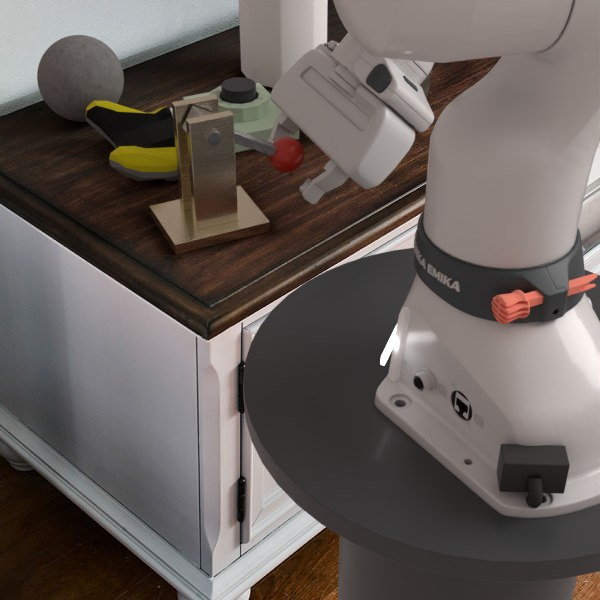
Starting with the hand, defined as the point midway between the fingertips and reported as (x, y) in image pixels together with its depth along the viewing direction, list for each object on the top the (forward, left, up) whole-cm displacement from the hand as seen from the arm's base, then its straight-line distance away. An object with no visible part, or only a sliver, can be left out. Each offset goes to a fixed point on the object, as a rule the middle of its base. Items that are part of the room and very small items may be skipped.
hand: (285, 177), depth 106 cm
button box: (+19, -3, -3) cm, 20 cm away
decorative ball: (+29, +13, -4) cm, 32 cm away
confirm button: (+19, -3, 0) cm, 19 cm away
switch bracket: (0, +8, -3) cm, 9 cm away
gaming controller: (+15, +10, -4) cm, 19 cm away
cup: (+31, -14, -4) cm, 34 cm away
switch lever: (0, +5, +3) cm, 6 cm away
